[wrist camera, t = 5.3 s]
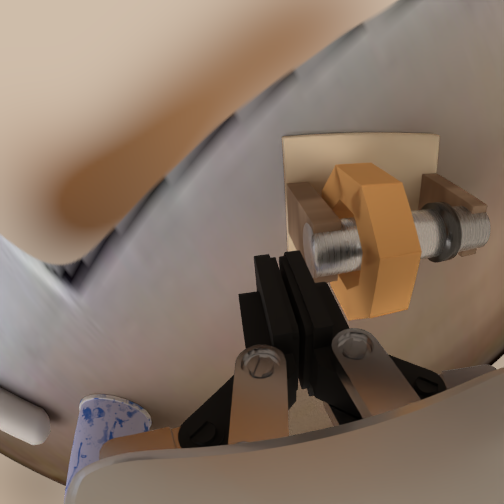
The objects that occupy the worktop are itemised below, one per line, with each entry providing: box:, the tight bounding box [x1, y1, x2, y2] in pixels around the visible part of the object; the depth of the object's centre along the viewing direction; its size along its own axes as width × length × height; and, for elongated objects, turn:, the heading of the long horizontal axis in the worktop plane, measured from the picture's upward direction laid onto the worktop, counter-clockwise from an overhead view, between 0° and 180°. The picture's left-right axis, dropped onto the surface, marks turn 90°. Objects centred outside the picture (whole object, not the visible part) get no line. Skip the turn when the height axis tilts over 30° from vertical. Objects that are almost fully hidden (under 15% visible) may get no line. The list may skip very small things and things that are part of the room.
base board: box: [282, 133, 487, 283], centre depth 16 cm, size 8×10×6 cm
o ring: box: [322, 163, 422, 321], centre depth 14 cm, size 7×2×7 cm, turn 5°
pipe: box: [303, 202, 490, 278], centre depth 14 cm, size 3×10×3 cm, turn 95°
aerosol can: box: [64, 394, 152, 501], centre depth 19 cm, size 8×8×20 cm
